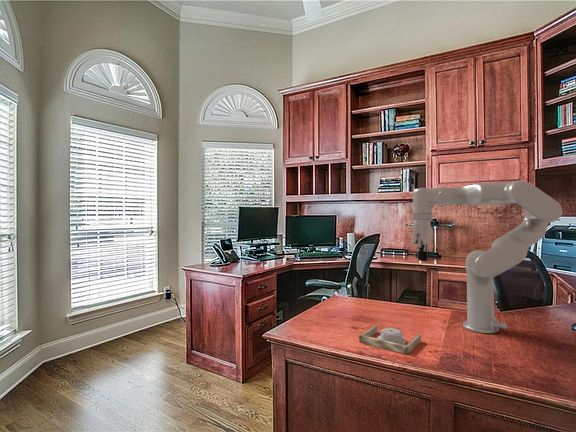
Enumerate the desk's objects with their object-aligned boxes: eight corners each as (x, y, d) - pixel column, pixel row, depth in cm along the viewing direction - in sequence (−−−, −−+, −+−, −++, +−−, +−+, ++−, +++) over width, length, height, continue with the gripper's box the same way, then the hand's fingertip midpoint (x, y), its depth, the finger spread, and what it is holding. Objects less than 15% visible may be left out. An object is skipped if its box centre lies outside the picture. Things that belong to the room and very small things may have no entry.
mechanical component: (378, 347, 122) (407, 349, 120) (378, 335, 122) (407, 336, 120) (376, 337, 131) (403, 338, 129) (376, 325, 131) (403, 326, 129)
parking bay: (421, 341, 126) (420, 334, 125) (407, 354, 115) (407, 347, 115) (375, 331, 137) (375, 325, 137) (359, 342, 126) (359, 335, 126)
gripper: (419, 216, 152) (419, 257, 152) (407, 217, 140) (408, 262, 140) (436, 216, 147) (437, 259, 147) (426, 217, 135) (426, 263, 136)
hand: (423, 260), depth 144 cm, fingers closed
